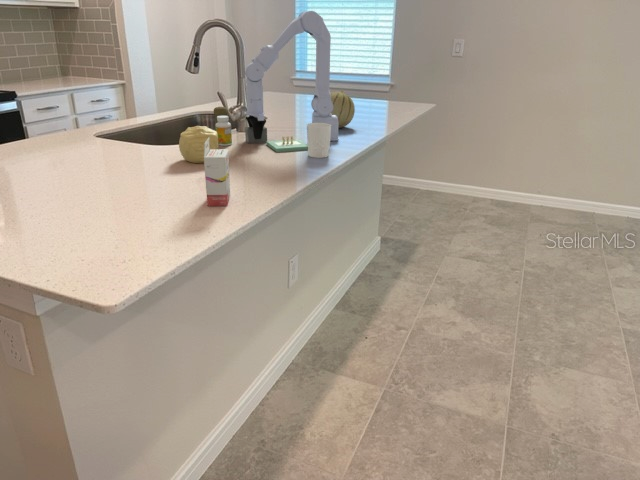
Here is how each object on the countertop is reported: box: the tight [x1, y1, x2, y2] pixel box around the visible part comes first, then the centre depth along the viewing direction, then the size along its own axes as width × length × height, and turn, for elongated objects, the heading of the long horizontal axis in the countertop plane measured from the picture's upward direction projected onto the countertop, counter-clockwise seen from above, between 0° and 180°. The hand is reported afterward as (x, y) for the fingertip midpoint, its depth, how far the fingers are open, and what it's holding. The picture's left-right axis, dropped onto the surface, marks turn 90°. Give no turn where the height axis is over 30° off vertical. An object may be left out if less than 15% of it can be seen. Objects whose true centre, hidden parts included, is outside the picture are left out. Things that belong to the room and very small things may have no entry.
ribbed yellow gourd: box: [330, 89, 356, 129], centre depth 205 cm, size 15×15×15 cm
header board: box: [265, 135, 308, 153], centre depth 172 cm, size 12×12×4 cm
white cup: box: [306, 122, 331, 159], centre depth 161 cm, size 8×8×10 cm
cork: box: [213, 106, 229, 131], centre depth 185 cm, size 6×6×11 cm
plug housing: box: [244, 126, 268, 144], centre depth 179 cm, size 7×4×5 cm, turn 112°
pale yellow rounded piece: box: [178, 125, 219, 164], centre depth 152 cm, size 12×12×11 cm
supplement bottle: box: [214, 115, 233, 147], centre depth 173 cm, size 5×5×10 cm
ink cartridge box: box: [203, 138, 231, 207], centre depth 117 cm, size 9×5×15 cm, turn 5°
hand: (256, 137), depth 180 cm, fingers closed on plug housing, 4 cm apart
